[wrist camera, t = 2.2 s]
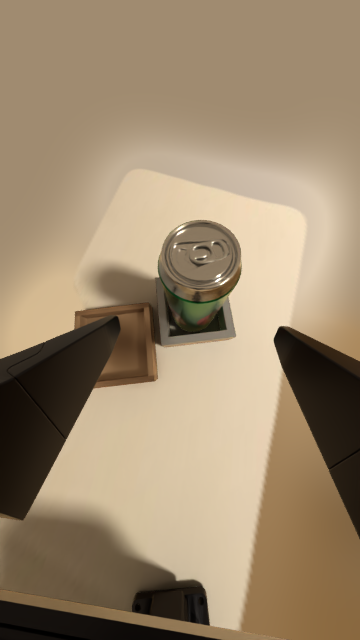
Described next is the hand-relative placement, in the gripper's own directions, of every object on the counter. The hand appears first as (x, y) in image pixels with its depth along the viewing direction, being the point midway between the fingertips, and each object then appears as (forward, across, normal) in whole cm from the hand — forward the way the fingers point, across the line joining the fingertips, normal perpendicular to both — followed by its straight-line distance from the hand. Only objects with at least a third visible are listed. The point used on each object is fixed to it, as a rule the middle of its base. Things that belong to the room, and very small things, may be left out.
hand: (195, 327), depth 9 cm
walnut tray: (+7, +9, +8) cm, 14 cm away
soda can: (+10, 0, +5) cm, 11 cm away
